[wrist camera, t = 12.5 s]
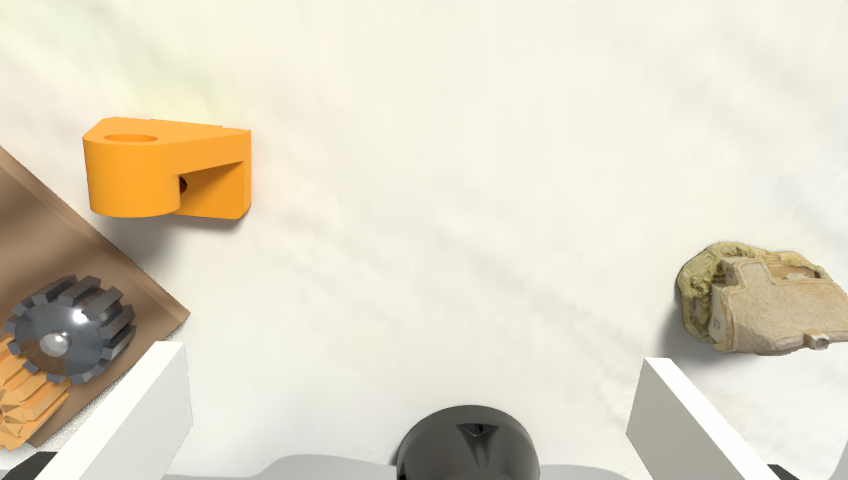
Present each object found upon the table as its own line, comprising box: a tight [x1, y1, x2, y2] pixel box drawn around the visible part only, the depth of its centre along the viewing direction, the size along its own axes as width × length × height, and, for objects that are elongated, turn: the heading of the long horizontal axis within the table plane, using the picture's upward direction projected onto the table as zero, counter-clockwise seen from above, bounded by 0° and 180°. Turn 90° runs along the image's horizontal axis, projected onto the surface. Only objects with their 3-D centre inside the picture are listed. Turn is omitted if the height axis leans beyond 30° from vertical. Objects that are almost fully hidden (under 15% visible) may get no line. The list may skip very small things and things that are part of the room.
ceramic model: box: [677, 242, 848, 356], centre depth 45 cm, size 14×11×10 cm
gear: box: [4, 274, 137, 385], centre depth 43 cm, size 8×8×5 cm
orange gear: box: [0, 338, 71, 451], centre depth 44 cm, size 8×8×5 cm
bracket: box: [82, 117, 251, 219], centre depth 37 cm, size 11×7×12 cm, turn 84°
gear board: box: [0, 146, 190, 448], centre depth 44 cm, size 21×21×6 cm
